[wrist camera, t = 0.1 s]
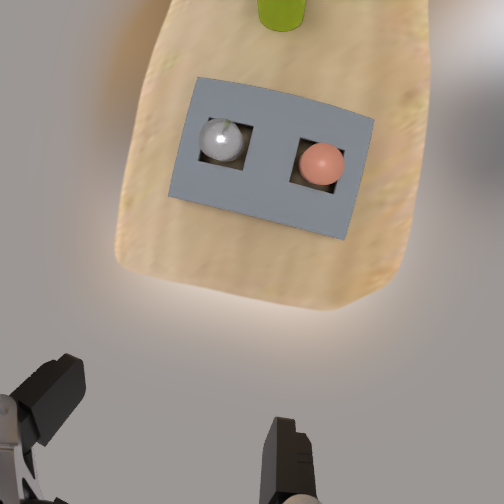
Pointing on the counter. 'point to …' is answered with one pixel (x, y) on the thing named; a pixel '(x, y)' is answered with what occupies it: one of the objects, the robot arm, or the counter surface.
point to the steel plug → (221, 140)
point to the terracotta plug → (321, 164)
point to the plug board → (271, 156)
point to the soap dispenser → (281, 13)
